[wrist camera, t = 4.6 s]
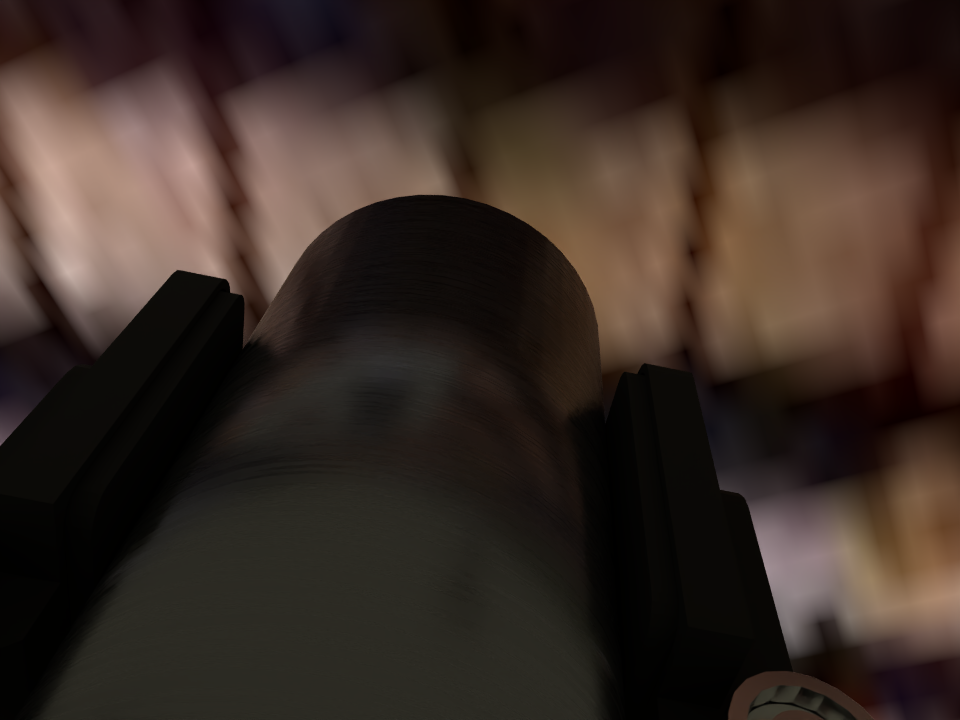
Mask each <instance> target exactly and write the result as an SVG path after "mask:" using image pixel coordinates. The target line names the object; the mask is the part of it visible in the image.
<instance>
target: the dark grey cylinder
mask: <svg viewBox="0 0 960 720" xmlns="http://www.w3.org/2000/svg"><path fill="white" fill-rule="evenodd" d="M14 720H626V716H625V702H624V688H623V674H622V659H621V645H620V631H619V617H618V603H617V588H616V574H615V560H614V546H613V531H612V517H611V503H610V489H609V474H608V460H607V446H606V432H605V417H604V403H603V389H602V375H601V360H600V346H599V334H598V324H597V320H596V316H595V312H594V307H593V304H592V302H591V299H590V297H589V294H588V292H587V290H586V287H585V285H584V284H583V282H582V280H581V279H580V277H579V275H578V273H577V272H576V270H575V269H574V267H573V266H572V265H571V263H570V262H569V261H568V260H567V258H566V257H565V256H564V255H563V253H562V252H561V251H560V250H559V249H558V248H557V247H556V246H555V245H554V244H553V243H552V242H550V241H549V240H548V239H547V238H546V237H545V236H544V235H542V234H541V233H540V232H538V231H537V230H536V229H534V228H533V227H532V226H530V225H529V224H527V223H525V222H524V221H522V220H520V219H518V218H516V217H515V216H513V215H511V214H509V213H507V212H505V211H502V210H500V209H497V208H495V207H492V206H490V205H488V204H484V203H480V202H477V201H473V200H469V199H465V198H458V197H451V196H444V195H414V196H405V197H396V198H392V199H388V200H384V201H380V202H376V203H373V204H371V205H368V206H366V207H363V208H361V209H358V210H356V211H354V212H352V213H350V214H348V215H347V216H345V217H343V218H341V219H340V220H338V221H336V222H335V223H334V224H332V225H331V226H330V227H329V228H327V229H326V230H325V231H323V232H322V233H321V234H320V235H319V236H318V237H317V238H316V239H315V240H314V241H313V242H312V243H311V244H310V245H309V246H308V247H307V249H306V250H305V251H304V253H303V254H302V256H301V257H300V259H299V260H298V261H297V263H296V264H295V266H294V268H293V269H292V271H291V272H290V274H289V276H288V277H287V279H286V280H285V282H284V284H283V285H282V287H281V289H280V290H279V292H278V293H277V295H276V297H275V298H274V300H273V302H272V303H271V305H270V306H269V308H268V310H267V311H266V313H265V314H264V316H263V318H262V319H261V321H260V323H259V324H258V326H257V327H256V329H255V331H254V332H253V334H252V335H251V337H250V339H249V340H248V342H247V344H246V345H245V347H244V348H243V350H242V352H241V353H240V355H239V357H238V358H237V360H236V361H235V363H234V365H233V366H232V368H231V369H230V371H229V373H228V374H227V376H226V378H225V379H224V381H223V382H222V384H221V386H220V387H219V389H218V391H217V392H216V394H215V395H214V397H213V399H212V400H211V402H210V403H209V405H208V407H207V408H206V410H205V412H204V413H203V415H202V416H201V418H200V420H199V421H198V423H197V424H196V426H195V428H194V429H193V431H192V433H191V434H190V436H189V437H188V439H187V441H186V442H185V444H184V446H183V447H182V449H181V450H180V452H179V454H178V455H177V457H176V458H175V460H174V462H173V463H172V465H171V467H170V468H169V470H168V471H167V473H166V475H165V476H164V478H163V480H162V481H161V483H160V484H159V486H158V488H157V489H156V491H155V492H154V494H153V496H152V497H151V499H150V501H149V502H148V504H147V505H146V507H145V509H144V510H143V512H142V513H141V515H140V517H139V518H138V520H137V522H136V523H135V525H134V526H133V528H132V530H131V531H130V533H129V535H128V536H127V538H126V539H125V541H124V543H123V544H122V546H121V547H120V549H119V551H118V552H117V554H116V556H115V557H114V559H113V560H112V562H111V564H110V565H109V567H108V568H107V570H106V572H105V573H104V575H103V577H102V578H101V580H100V581H99V583H98V585H97V586H96V588H95V590H94V591H93V593H92V594H91V596H90V598H89V599H88V601H87V602H86V604H85V606H84V607H83V609H82V611H81V612H80V614H79V615H78V617H77V619H76V620H75V622H74V624H73V625H72V627H71V628H70V630H69V632H68V633H67V635H66V636H65V638H64V640H63V641H62V643H61V645H60V646H59V648H58V649H57V651H56V653H55V654H54V656H53V657H52V659H51V661H50V662H49V664H48V666H47V667H46V669H45V670H44V672H43V674H42V675H41V677H40V679H39V680H38V682H37V683H36V685H35V687H34V688H33V690H32V691H31V693H30V695H29V696H28V698H27V700H26V701H25V703H24V704H23V706H22V708H21V709H20V711H19V713H18V714H17V716H16V717H15V719H14Z"/></svg>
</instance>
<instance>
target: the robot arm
mask: <svg viewBox="0 0 960 720" xmlns="http://www.w3.org/2000/svg"><path fill="white" fill-rule="evenodd" d="M243 328H244V298H243V296H242V295H238V294H233V293H230V286H229V283H228V281H227V280H226V279H221V278H216V277H211V276H206V275H201V274H196V273H191V272H186V271H181V270H177V271H176V272H174V273H173V274H172V275H171V276H170V277H169V279H168V280H167V281H166V282H165V283H164V284H163V285H162V287H161V288H160V289H159V290H158V291H157V292H156V293H155V295H154V296H153V297H152V298H151V299H150V300H149V301H148V303H147V304H146V305H145V306H144V307H143V308H142V309H141V311H140V312H139V313H138V314H137V315H136V316H135V318H134V319H133V320H132V321H131V322H130V323H129V324H128V326H127V327H126V328H125V329H124V330H123V331H122V332H121V334H120V335H119V336H118V337H117V338H116V339H115V340H114V342H113V343H112V344H111V345H110V346H109V347H108V348H107V350H106V351H105V352H104V353H103V354H102V355H101V356H100V358H99V359H98V360H97V361H96V362H95V363H94V365H93V366H90V365H84V364H82V365H77V366H75V367H73V368H72V369H71V370H70V371H68V372H67V373H66V374H65V375H64V376H63V378H62V379H61V380H60V381H59V382H58V383H57V384H56V385H55V386H54V387H53V389H52V390H51V391H50V392H49V393H48V394H47V395H46V396H45V397H44V398H43V400H42V401H41V402H40V403H39V404H38V405H37V406H36V407H35V408H34V409H33V411H32V412H31V413H30V414H29V415H28V416H27V417H26V418H25V419H24V420H23V422H22V423H21V424H20V425H19V426H18V427H17V428H16V429H15V430H14V431H13V433H12V434H11V435H10V436H9V437H8V438H7V439H6V440H5V441H4V442H3V444H2V445H1V446H0V720H14V719H15V717H16V716H17V714H18V713H19V711H20V709H21V708H22V706H23V704H24V703H25V701H26V700H27V698H28V696H29V695H30V693H31V691H32V690H33V688H34V687H35V685H36V683H37V682H38V680H39V679H40V677H41V675H42V674H43V672H44V670H45V669H46V667H47V666H48V664H49V662H50V661H51V659H52V657H53V656H54V654H55V653H56V651H57V649H58V648H59V646H60V645H61V643H62V641H63V640H64V638H65V636H66V635H67V633H68V632H69V630H70V628H71V627H72V625H73V624H74V622H75V620H76V619H77V617H78V615H79V614H80V612H81V611H82V609H83V607H84V606H85V604H86V602H87V601H88V599H89V598H90V596H91V594H92V593H93V591H94V590H95V588H96V586H97V585H98V583H99V581H100V580H101V578H102V577H103V575H104V573H105V572H106V570H107V568H108V567H109V565H110V564H111V562H112V560H113V559H114V557H115V556H116V554H117V552H118V551H119V549H120V547H121V546H122V544H123V543H124V541H125V539H126V538H127V536H128V535H129V533H130V531H131V530H132V528H133V526H134V525H135V523H136V522H137V520H138V518H139V517H140V515H141V513H142V512H143V510H144V509H145V507H146V505H147V504H148V502H149V501H150V499H151V497H152V496H153V494H154V492H155V491H156V489H157V488H158V486H159V484H160V483H161V481H162V480H163V478H164V476H165V475H166V473H167V471H168V470H169V468H170V467H171V465H172V463H173V462H174V460H175V458H176V457H177V455H178V454H179V452H180V450H181V449H182V447H183V446H184V444H185V442H186V441H187V439H188V437H189V436H190V434H191V433H192V431H193V429H194V428H195V426H196V424H197V423H198V421H199V420H200V418H201V416H202V415H203V413H204V412H205V410H206V408H207V407H208V405H209V403H210V402H211V400H212V399H213V397H214V395H215V394H216V392H217V391H218V389H219V387H220V386H221V384H222V382H223V381H224V379H225V378H226V376H227V374H228V373H229V371H230V369H231V368H232V366H233V365H234V363H235V361H236V360H237V358H238V357H239V355H240V353H241V352H242V348H243ZM605 432H606V446H607V460H608V474H609V489H610V503H611V517H612V531H613V546H614V560H615V574H616V588H617V603H618V617H619V631H620V645H621V659H622V674H623V688H624V702H625V716H626V720H874V719H873V718H872V717H871V716H870V715H869V714H868V713H867V712H866V710H865V709H864V708H863V707H862V706H860V705H859V704H858V703H856V702H855V701H854V700H852V699H851V698H849V697H848V696H847V695H845V694H844V693H843V692H841V691H840V690H839V689H837V688H835V687H833V686H830V685H828V684H826V683H824V682H822V681H820V680H818V679H816V678H814V677H810V676H806V675H802V674H798V673H794V672H793V670H792V666H791V663H790V659H789V655H788V652H787V648H786V644H785V641H784V637H783V633H782V630H781V626H780V622H779V618H778V615H777V611H776V607H775V604H774V600H773V596H772V593H771V589H770V585H769V581H768V578H767V574H766V570H765V567H764V563H763V559H762V556H761V552H760V548H759V545H758V541H757V537H756V533H755V530H754V526H753V522H752V519H751V515H750V511H749V508H748V505H747V503H746V500H745V498H744V497H743V496H742V495H740V494H739V493H734V492H729V491H724V490H720V488H719V484H718V480H717V476H716V471H715V467H714V463H713V459H712V454H711V450H710V446H709V442H708V437H707V433H706V429H705V424H704V420H703V416H702V412H701V407H700V403H699V399H698V395H697V390H696V386H695V382H694V378H693V375H692V373H690V372H685V371H680V370H675V369H670V368H665V367H660V366H655V365H650V364H645V363H644V364H643V365H642V366H641V368H640V370H639V372H638V374H633V373H628V372H624V373H623V374H622V376H621V378H620V380H619V383H618V386H617V389H616V393H615V396H614V399H613V402H612V405H611V408H610V411H609V415H608V418H607V421H606V424H605Z"/></svg>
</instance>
